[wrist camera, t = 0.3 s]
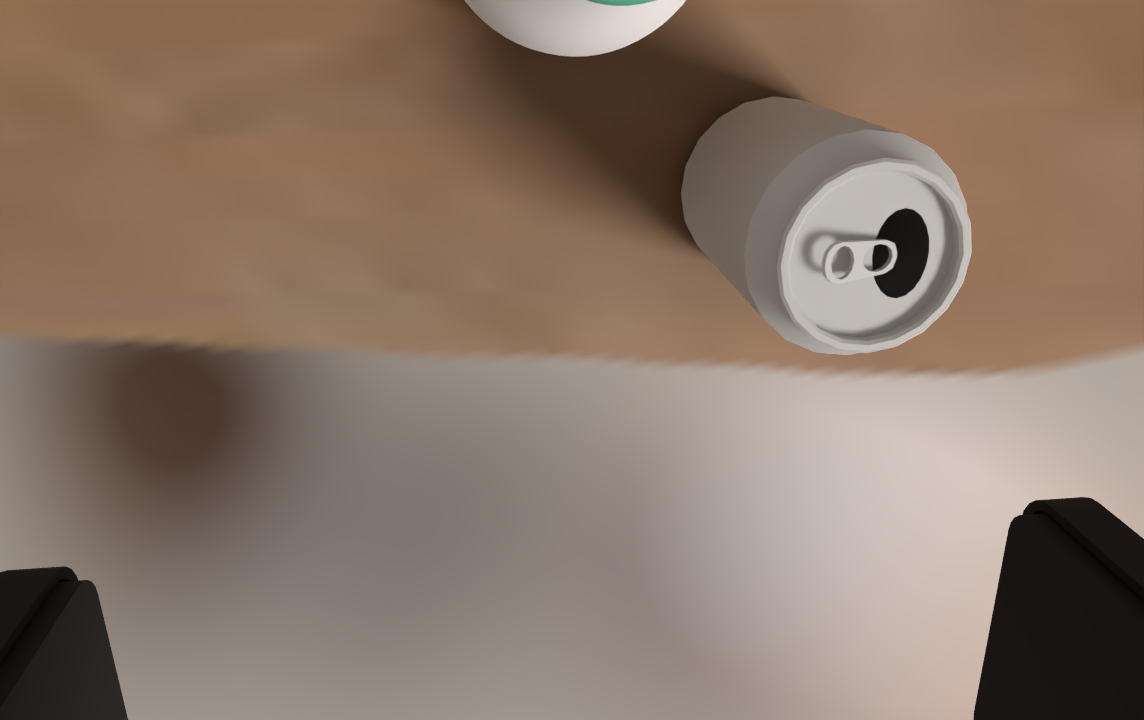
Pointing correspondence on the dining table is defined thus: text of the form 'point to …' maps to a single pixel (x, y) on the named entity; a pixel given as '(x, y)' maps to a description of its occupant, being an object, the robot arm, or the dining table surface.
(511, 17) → the milk bottle
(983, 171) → the dining table surface
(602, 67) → the dining table surface
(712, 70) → the dining table surface
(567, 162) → the dining table surface
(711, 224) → the can
